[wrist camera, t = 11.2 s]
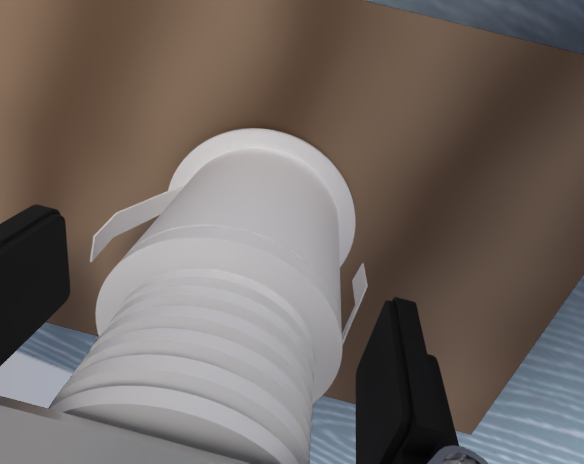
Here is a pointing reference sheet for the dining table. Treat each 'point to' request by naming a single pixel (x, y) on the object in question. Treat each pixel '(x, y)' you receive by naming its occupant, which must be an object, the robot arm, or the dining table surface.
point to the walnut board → (329, 141)
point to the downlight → (225, 302)
